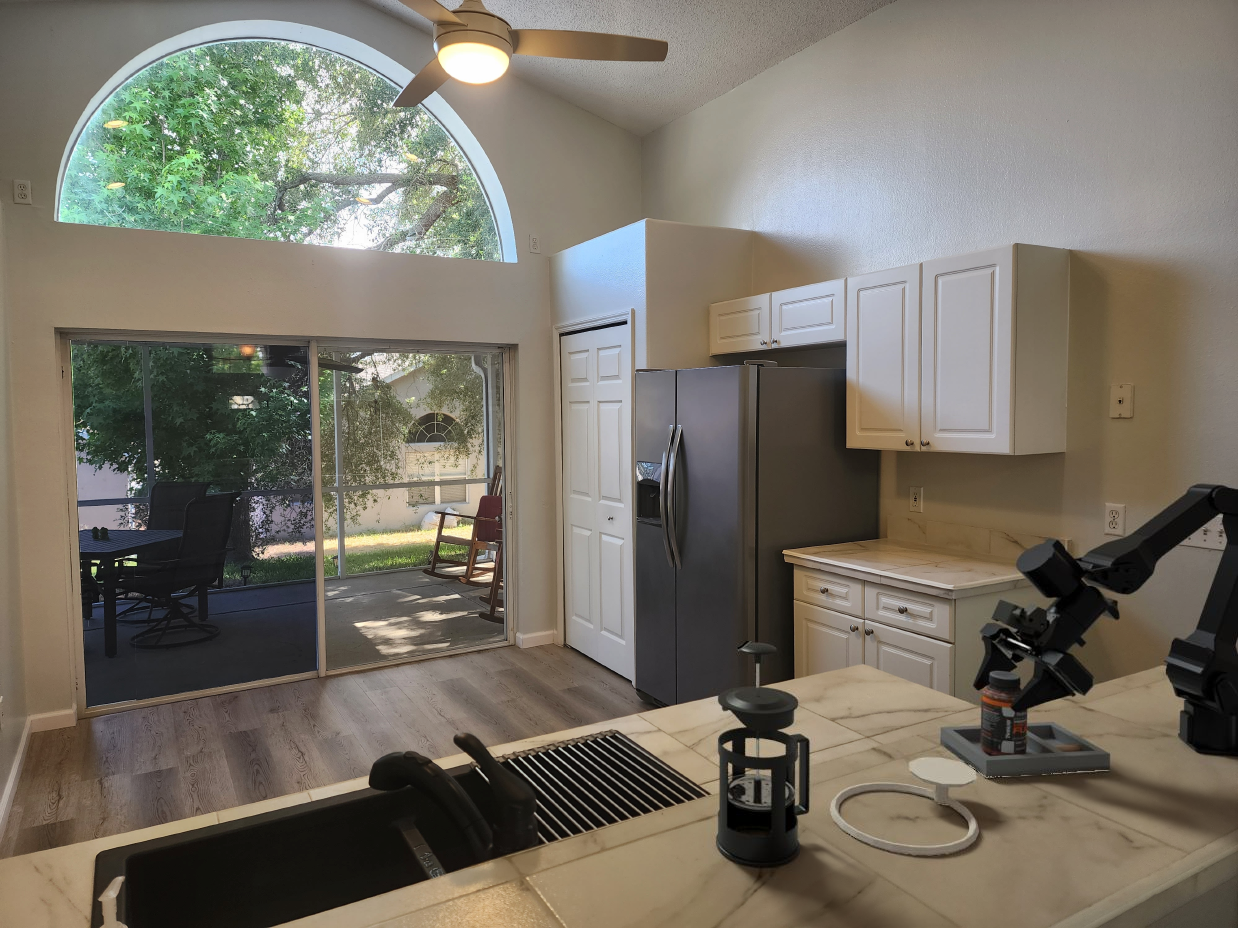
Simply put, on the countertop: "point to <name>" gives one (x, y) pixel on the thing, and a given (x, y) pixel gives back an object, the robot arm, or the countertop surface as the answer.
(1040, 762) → the divided tray
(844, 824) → the hand towel holder
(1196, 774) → the countertop surface
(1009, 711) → the supplement bottle
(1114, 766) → the countertop surface
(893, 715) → the countertop surface
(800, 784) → the french press
